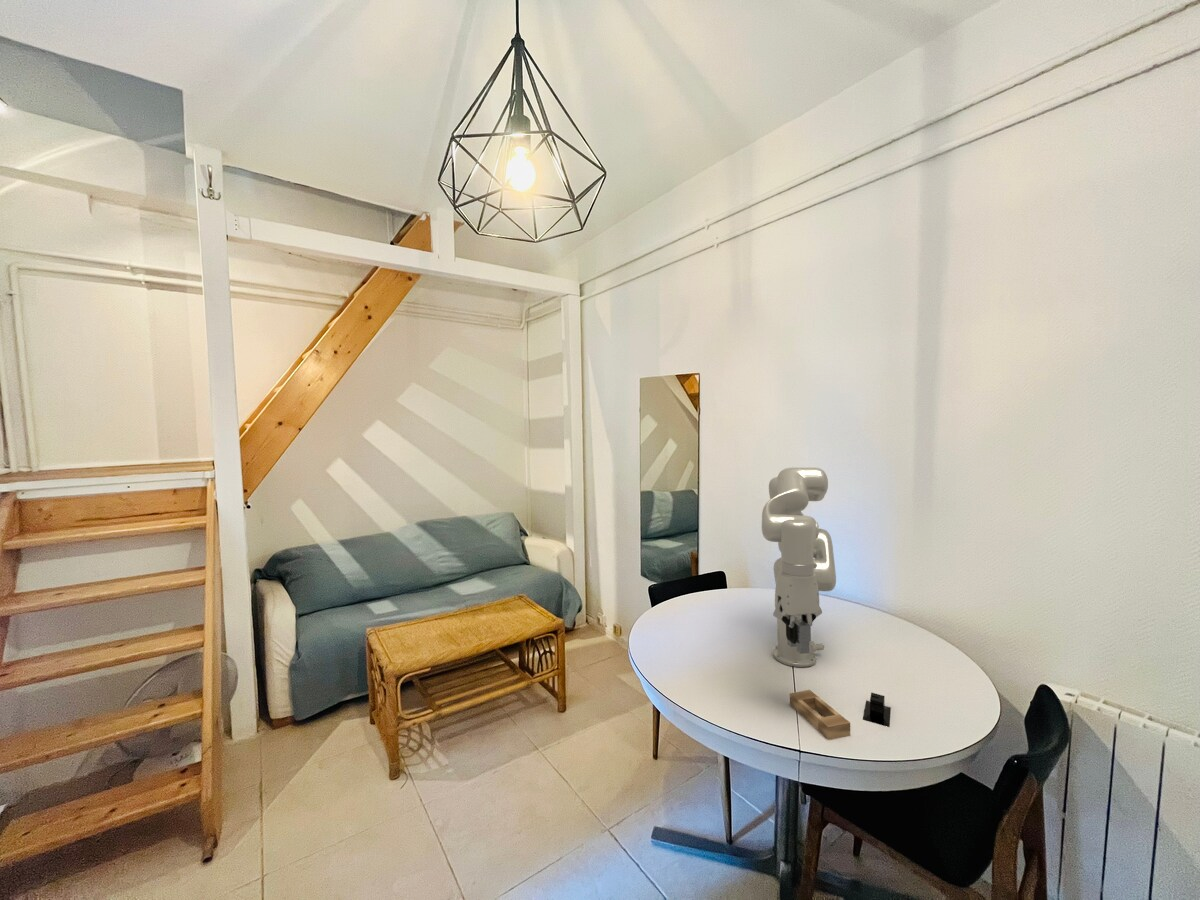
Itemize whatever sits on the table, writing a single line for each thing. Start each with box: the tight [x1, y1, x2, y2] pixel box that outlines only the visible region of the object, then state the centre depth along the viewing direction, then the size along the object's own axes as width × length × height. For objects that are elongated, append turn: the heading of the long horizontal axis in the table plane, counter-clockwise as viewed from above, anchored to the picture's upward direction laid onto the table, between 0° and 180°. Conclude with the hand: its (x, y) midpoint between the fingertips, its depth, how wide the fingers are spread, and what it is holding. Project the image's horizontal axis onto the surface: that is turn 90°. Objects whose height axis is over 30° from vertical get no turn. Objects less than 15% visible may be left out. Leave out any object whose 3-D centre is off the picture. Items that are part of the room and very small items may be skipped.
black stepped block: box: [862, 692, 892, 728], centre depth 112 cm, size 12×7×5 cm, turn 145°
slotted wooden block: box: [789, 689, 851, 741], centre depth 111 cm, size 14×6×3 cm, turn 13°
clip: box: [787, 616, 812, 654], centre depth 114 cm, size 6×3×7 cm, turn 10°
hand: (798, 640), depth 114 cm, fingers closed on clip, 3 cm apart
